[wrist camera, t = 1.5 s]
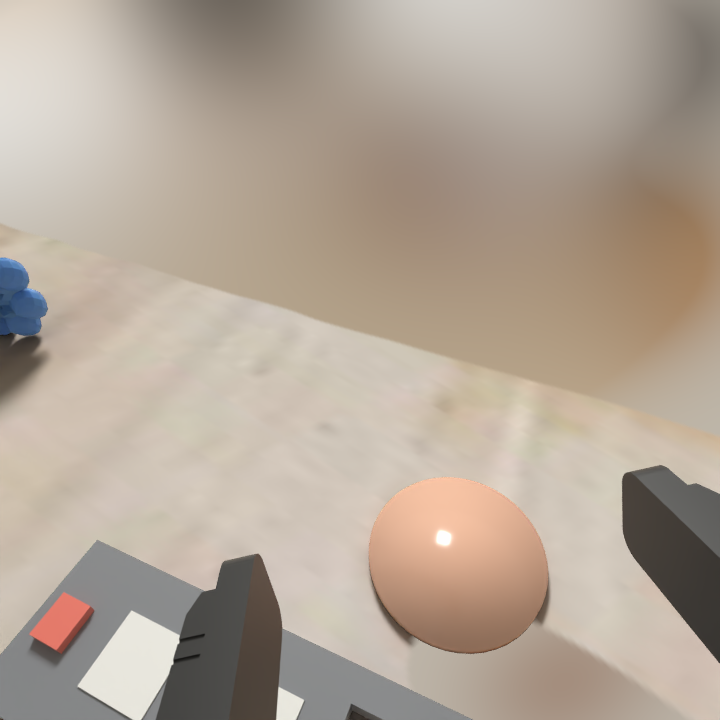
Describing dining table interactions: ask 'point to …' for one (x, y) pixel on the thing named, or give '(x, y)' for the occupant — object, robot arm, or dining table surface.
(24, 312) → the grapes
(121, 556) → the power strip
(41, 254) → the dining table surface
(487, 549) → the peach dome
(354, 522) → the dining table surface
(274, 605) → the robot arm
